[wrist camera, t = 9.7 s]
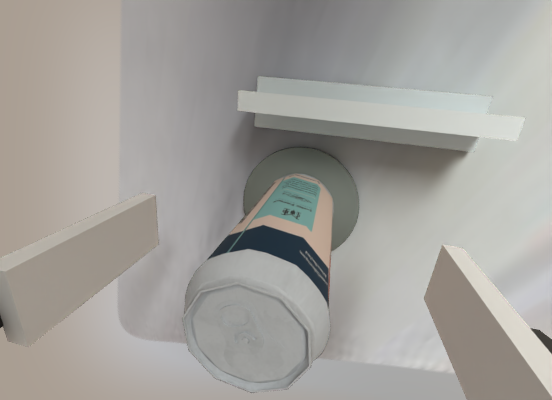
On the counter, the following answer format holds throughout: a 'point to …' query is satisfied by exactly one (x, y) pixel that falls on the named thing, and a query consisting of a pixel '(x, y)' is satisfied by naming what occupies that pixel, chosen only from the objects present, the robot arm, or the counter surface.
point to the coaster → (313, 166)
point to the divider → (377, 113)
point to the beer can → (266, 290)
